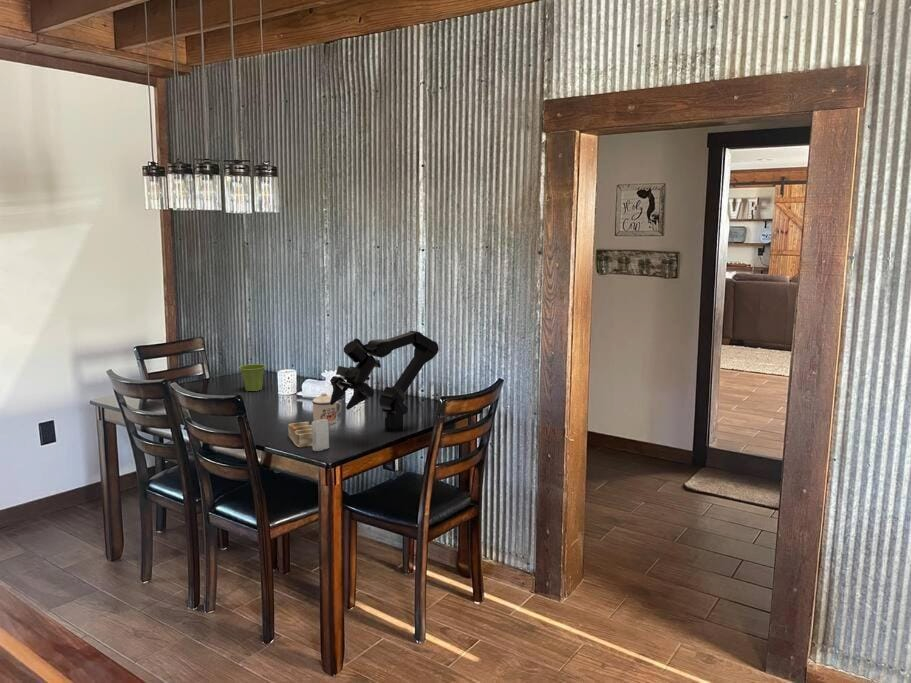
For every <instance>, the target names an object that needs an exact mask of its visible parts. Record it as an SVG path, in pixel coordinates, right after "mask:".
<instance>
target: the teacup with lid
mask: <svg viewBox="0 0 911 683" xmlns="http://www.w3.org/2000/svg"><path fill="white" fill-rule="evenodd" d="M331 397H332V396H330V395H328V394H327V392H322V393H321V395H319V396H318V397H315V398H313V399H312V402H311V403H312V414H313V421H316V420H320V419H326V420H328V426H330V425H334V424H335V423H337V415H338V414H339V413H341V411H342V404H341V402H339V401H337V402H335V403H334V404H333V405H331V404H330V400H331ZM337 404H338V409H337Z"/></svg>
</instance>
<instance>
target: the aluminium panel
mask: <svg viewBox="0 0 911 683" xmlns="http://www.w3.org/2000/svg"><path fill="white" fill-rule="evenodd" d="M311 425H312V445H313V446H312V451H313V452H316V451H318V452H320V451H325V450H327V449H328V448H329V449H330V437H329V436H330V433H329V425H328V420H326V419H320V420H316V421H314V420H313V421H311ZM324 449H325V450H324Z"/></svg>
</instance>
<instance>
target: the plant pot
mask: <svg viewBox="0 0 911 683" xmlns="http://www.w3.org/2000/svg"><path fill="white" fill-rule="evenodd" d="M266 367H267V366H266V364H263V363H262V364H261V363H252V364H244V365H241V366H239V367H238V368H239V370H240V373H241V375H242V380H243V384H244V389H245V391H246V392H248V391H256V392H260V391H262V390H263V383H264V374H265V368H266ZM259 390H260V391H259Z"/></svg>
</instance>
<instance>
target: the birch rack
mask: <svg viewBox="0 0 911 683" xmlns="http://www.w3.org/2000/svg"><path fill="white" fill-rule="evenodd" d="M287 428H288V431H287V432H288V437H289V439H290V440H291V441H292V442H293V444H294V445H295V447H296V446H297V447H299V448H305V446H307V447H313V445H312V424H310V423H309V421H304V422H303V421H302V422H295V423H287ZM297 447H296V448H297Z"/></svg>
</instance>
